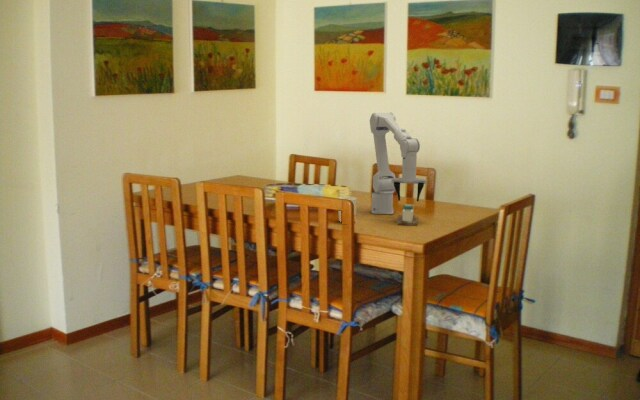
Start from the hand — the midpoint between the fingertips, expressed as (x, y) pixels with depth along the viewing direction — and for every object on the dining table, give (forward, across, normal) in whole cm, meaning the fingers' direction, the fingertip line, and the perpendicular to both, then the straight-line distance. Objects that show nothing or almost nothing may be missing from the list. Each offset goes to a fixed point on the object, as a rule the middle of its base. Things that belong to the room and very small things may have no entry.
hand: (408, 200), depth 286 cm
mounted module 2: (+7, 0, -6) cm, 9 cm away
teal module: (+7, 0, 0) cm, 7 cm away
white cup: (+9, -25, -5) cm, 27 cm away
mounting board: (+9, 0, 0) cm, 9 cm away
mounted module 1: (+7, 0, +6) cm, 9 cm away
